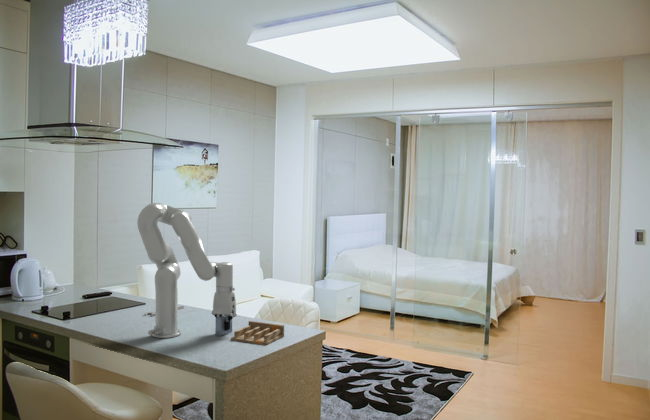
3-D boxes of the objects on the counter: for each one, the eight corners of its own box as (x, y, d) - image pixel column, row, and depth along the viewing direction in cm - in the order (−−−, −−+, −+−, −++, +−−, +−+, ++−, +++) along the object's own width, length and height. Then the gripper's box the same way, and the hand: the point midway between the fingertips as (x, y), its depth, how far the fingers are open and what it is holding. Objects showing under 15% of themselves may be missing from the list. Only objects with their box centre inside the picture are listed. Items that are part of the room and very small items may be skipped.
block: (221, 336, 231) (221, 318, 231) (215, 335, 232) (215, 317, 232) (232, 331, 239) (232, 314, 239) (226, 330, 240) (226, 313, 240)
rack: (266, 345, 217) (266, 333, 217) (230, 340, 224) (230, 328, 224) (284, 336, 232) (284, 325, 232) (249, 331, 239) (249, 320, 239)
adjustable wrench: (181, 308, 289) (182, 305, 289) (189, 310, 285) (189, 307, 285) (142, 315, 269) (142, 312, 269) (150, 317, 265) (150, 314, 265)
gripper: (243, 289, 235) (243, 329, 236) (214, 286, 242) (214, 325, 242) (234, 292, 228) (234, 333, 229) (204, 289, 235) (204, 329, 235)
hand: (223, 329), depth 235 cm, fingers closed on block, 2 cm apart
